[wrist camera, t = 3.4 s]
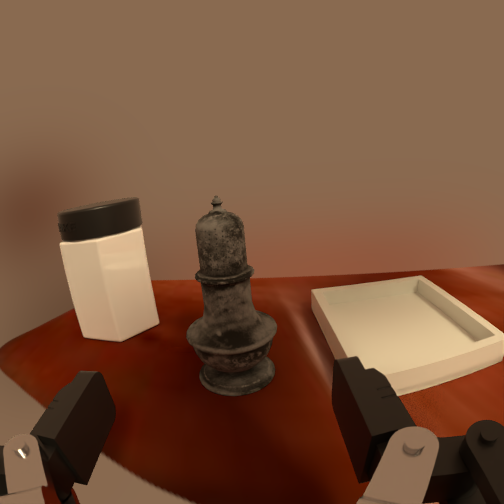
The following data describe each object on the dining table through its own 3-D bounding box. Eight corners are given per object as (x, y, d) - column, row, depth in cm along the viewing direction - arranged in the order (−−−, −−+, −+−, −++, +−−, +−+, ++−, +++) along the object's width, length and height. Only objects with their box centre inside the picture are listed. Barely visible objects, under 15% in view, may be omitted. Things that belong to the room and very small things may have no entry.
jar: (88, 312, 32) (66, 208, 29) (154, 300, 35) (137, 195, 32) (79, 350, 24) (45, 217, 21) (163, 334, 27) (139, 199, 24)
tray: (419, 293, 30) (421, 275, 29) (501, 361, 16) (508, 337, 16) (311, 308, 30) (311, 289, 29) (356, 405, 16) (359, 380, 16)
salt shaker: (239, 342, 25) (222, 190, 22) (296, 367, 21) (288, 189, 18) (179, 373, 21) (147, 203, 18) (234, 412, 17) (205, 203, 14)
